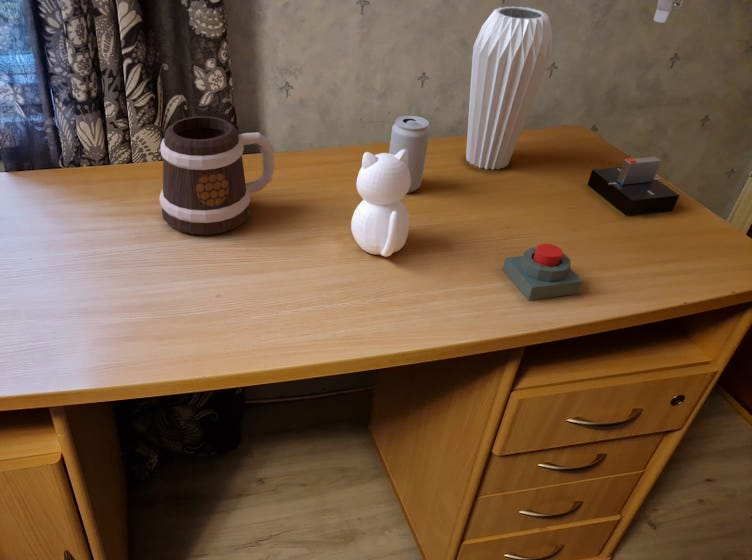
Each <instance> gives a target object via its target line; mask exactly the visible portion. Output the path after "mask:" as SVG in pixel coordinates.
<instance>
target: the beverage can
mask: <svg viewBox="0 0 752 560" xmlns="http://www.w3.org/2000/svg"><path fill="white" fill-rule="evenodd" d="M429 125H430V122H429V121H428V120H427V119H426V118H423V117H422V116H417V115H402V116H399V117H397V118H395V121H394V124H393V126H392V127H391V136H390V143H389V150H388V153H389V154H393V155H396V154H397V153H398V152H399V151H401V150H402V149H407V151H408V156H409V159H408V165H407V167H408V169H409V172H410V177H411V185H410V187H409V190H408V192H407V193H406V194H409V193H413V192H415V191H416V190H419V188H420V187H421V185H422V180H423V176H424V175H423V173H424V168H425V163H426V157H427V151H428V144H429V138H430V132H431V129H430V127H429Z"/></svg>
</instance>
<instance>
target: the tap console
mask: <svg viewBox="0 0 752 560" xmlns="http://www.w3.org/2000/svg"><path fill="white" fill-rule="evenodd" d="M621 169H622V166H615V167H603V168H593V169H592V170H591V172H590V175H589V179H588V181H587V184H586V185H587V186H588V187H589V188H591V189H592V190H593V191H594V192H596V193H597V194H598V195H599V196H600V197H601V198H603V199H604V200H606V201H607V202H608V203H610V204H611V206H613V207H614V208H616V209H617V210H618V211H619V212H621V213H622V214H623V215H624V216H626V217H631V216H641V215H649V214H659V213H668V212H673V211H674V209H675V207H676V204H677V202H678V200H679V197H680V194H678V193H677V192H675V191H674V190H673V189H672V188H670V187H668V186H667V185H666V184H664V183H662V182H661V180H662V178H661V177H658V178H657V177H654V180H653V182H647V183H637V184H627V185H622V184H620V183H619V182H618V181H617V180H618V177H619V174H620V171H621Z"/></svg>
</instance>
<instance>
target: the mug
mask: <svg viewBox="0 0 752 560" xmlns="http://www.w3.org/2000/svg"><path fill="white" fill-rule="evenodd" d="M163 137H164V138H162V141H161V143H160V147H159V148H160V149H159V150H160V151H159V152H160V155H161V157H162V188H161V191H160V193H159V199H158V200H159V204H160V207H161V214H162V218H163V220H164V222H166V224H168V225H169V226H170V227H172V228H173V229H175V230H177V231H179V232H181V233H185V234H190V235H195V236H196V235H197V236H210V235H211V236H212V235H218V234H222V233H226V232H229V231H232V230H234V229H235V228H237V227H240V225H242V224H243V223H244V222H245V221H246V220H247V218H248V217H249V216H250V215H249V214H250V203H251V202H250V201H251V194H254V193H257V192H260V191H262V190H264V188H265V187H266V186H267V185H268V184H270V183H271V181H272V180H273V176H274V173H275V172H274V171H275V152H274V151H275V150H274V148H273V146H272V144H271V142H270V141H269V140H270V139H268V138H267V137H266V136H265V135H263V134H262V133H260V132H257V131H256V132H244V133H240V134H239V132H238V130H237V128H236V126H234V125H233V124H232V123H230V122H229V121H227V120H226V119H222V118H220V117H214V116H203V115H201V116H200V115H199V116H189V117H185V118H181V119H179V120H176V121H174V122H173V123H172V124H170V125H169V126H168V127H167V128H166V129H165V132H164V136H163ZM253 145H254V146H256V147H257V148H258V149H259V150H260V152H261V160H262V161H261V162H262V170H261V171H262V172H261V175H260V176H259V178H258V179H256V180H254V181H253V180H252V181H249V182H246V177H245V170H244V162H243V153H244V150H245V146H246V147H248V146H253Z"/></svg>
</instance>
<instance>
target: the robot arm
mask: <svg viewBox="0 0 752 560" xmlns="http://www.w3.org/2000/svg"><path fill="white" fill-rule="evenodd" d="M683 2H684V0H657V5H656V11H655V13H654V17H653V21H654V22H656V23H660V24H664V23H665V22H666V21H668V19H669V16H670V14H671V11H672V10H673V11H677V10H679V9H680V8H681V7H682V4H683Z"/></svg>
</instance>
